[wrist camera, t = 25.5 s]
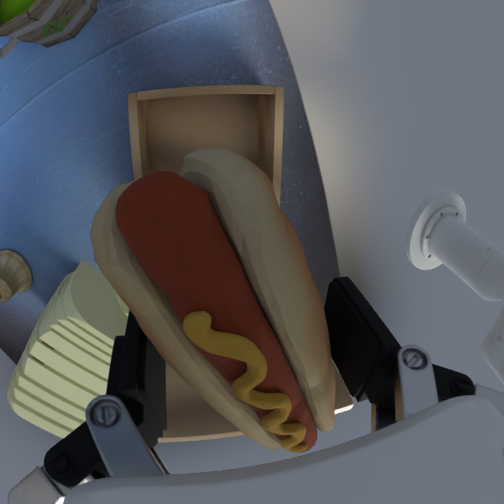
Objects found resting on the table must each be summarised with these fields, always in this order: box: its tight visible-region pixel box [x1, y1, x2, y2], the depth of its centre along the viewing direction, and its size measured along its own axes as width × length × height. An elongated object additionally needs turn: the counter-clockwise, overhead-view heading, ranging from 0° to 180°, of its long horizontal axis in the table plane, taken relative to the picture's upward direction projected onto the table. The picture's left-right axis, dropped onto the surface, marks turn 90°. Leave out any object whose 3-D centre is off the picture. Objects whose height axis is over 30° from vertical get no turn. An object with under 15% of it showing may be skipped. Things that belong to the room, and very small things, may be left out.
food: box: [90, 148, 335, 453], centre depth 10 cm, size 14×6×5 cm, turn 19°
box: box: [128, 85, 284, 207], centre depth 31 cm, size 19×15×8 cm
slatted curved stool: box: [7, 260, 129, 438], centre depth 34 cm, size 30×16×18 cm, turn 130°
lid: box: [158, 360, 354, 442], centre depth 25 cm, size 20×15×5 cm
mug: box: [0, 0, 97, 58], centre depth 14 cm, size 16×11×12 cm
